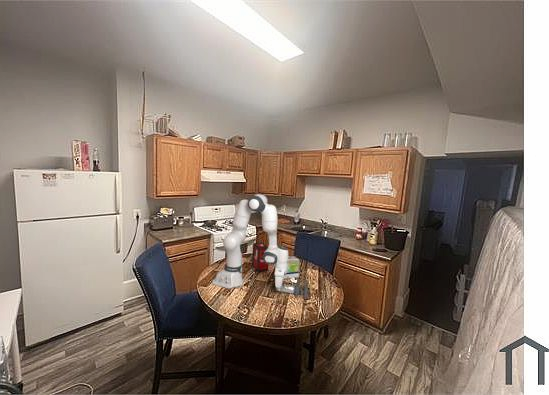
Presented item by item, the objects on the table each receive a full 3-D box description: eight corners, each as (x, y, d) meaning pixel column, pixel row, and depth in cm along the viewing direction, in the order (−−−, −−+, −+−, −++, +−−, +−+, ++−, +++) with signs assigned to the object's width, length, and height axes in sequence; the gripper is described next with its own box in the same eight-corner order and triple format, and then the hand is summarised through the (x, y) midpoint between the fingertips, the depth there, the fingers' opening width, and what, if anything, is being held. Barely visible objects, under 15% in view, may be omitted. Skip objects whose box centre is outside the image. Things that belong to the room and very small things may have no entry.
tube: (275, 292, 157) (275, 286, 155) (277, 287, 162) (277, 281, 160) (301, 296, 154) (301, 290, 152) (301, 290, 159) (302, 285, 157)
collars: (295, 296, 152) (296, 284, 151) (296, 289, 162) (297, 277, 161) (310, 299, 150) (311, 286, 149) (311, 291, 160) (312, 279, 159)
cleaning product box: (268, 270, 190) (269, 248, 188) (258, 272, 186) (259, 249, 184) (261, 263, 205) (262, 242, 203) (251, 264, 201) (253, 243, 199)
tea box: (282, 279, 176) (283, 261, 174) (277, 274, 185) (278, 257, 183) (298, 277, 181) (300, 259, 180) (293, 272, 191) (294, 255, 189)
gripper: (279, 262, 168) (278, 280, 170) (274, 274, 148) (272, 294, 150) (287, 263, 167) (286, 281, 168) (283, 275, 147) (282, 295, 148)
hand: (280, 287), depth 159 cm, fingers open, 6 cm apart
